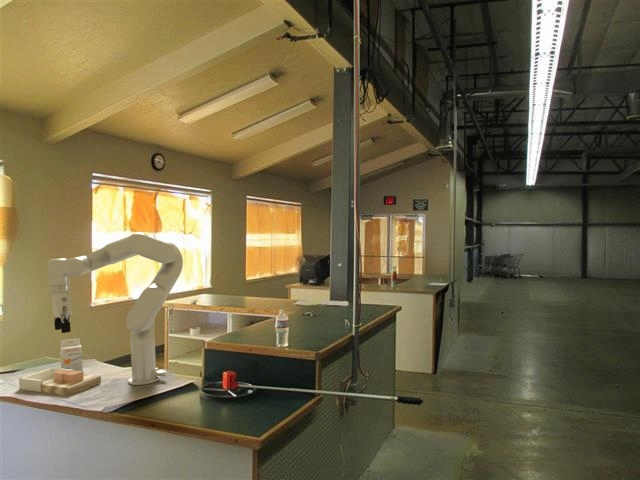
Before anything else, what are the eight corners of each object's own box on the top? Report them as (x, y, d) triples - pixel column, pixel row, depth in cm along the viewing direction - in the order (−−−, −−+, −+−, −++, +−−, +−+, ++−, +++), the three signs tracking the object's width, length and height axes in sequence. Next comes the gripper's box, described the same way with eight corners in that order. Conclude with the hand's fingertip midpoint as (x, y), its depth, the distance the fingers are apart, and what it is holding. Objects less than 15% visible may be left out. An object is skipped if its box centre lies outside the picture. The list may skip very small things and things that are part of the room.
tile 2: (83, 379, 201) (83, 371, 201) (73, 382, 197) (73, 375, 197) (74, 378, 203) (74, 370, 203) (64, 381, 199) (63, 374, 199)
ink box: (62, 375, 219) (60, 342, 219) (60, 372, 223) (59, 340, 223) (83, 371, 224) (81, 339, 223) (81, 369, 228) (80, 337, 227)
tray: (74, 380, 211) (73, 369, 211) (40, 392, 196) (40, 380, 196) (53, 377, 215) (53, 367, 215) (19, 389, 200) (19, 378, 200)
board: (100, 383, 205) (100, 376, 205) (68, 395, 191) (68, 388, 190) (74, 380, 211) (73, 373, 211) (40, 392, 196) (40, 384, 196)
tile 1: (73, 378, 204) (73, 370, 203) (63, 381, 199) (63, 373, 199) (64, 377, 205) (64, 369, 205) (54, 380, 201) (54, 372, 201)
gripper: (76, 289, 196) (79, 331, 196) (64, 286, 209) (66, 326, 209) (55, 291, 191) (58, 335, 191) (44, 288, 204) (46, 329, 204)
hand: (62, 330), depth 200 cm, fingers open, 9 cm apart
